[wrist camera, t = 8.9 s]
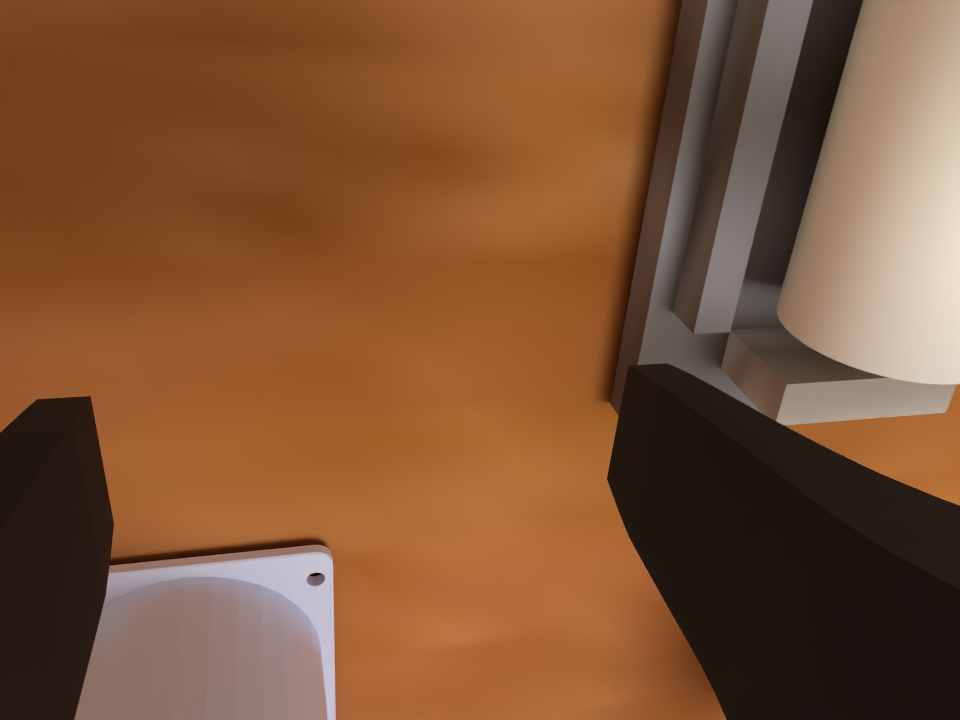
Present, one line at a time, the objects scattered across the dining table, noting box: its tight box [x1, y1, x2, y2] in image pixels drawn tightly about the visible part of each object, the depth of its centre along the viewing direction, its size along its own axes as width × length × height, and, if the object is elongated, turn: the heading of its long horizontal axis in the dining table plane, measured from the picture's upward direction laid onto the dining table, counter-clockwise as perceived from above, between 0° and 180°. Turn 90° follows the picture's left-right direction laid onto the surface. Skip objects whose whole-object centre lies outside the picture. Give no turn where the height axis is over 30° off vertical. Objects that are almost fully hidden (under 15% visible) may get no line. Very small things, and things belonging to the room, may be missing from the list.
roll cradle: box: [610, 0, 957, 425], centre depth 20 cm, size 16×10×4 cm, turn 175°
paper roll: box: [776, 0, 960, 385], centre depth 18 cm, size 9×5×5 cm, turn 175°
